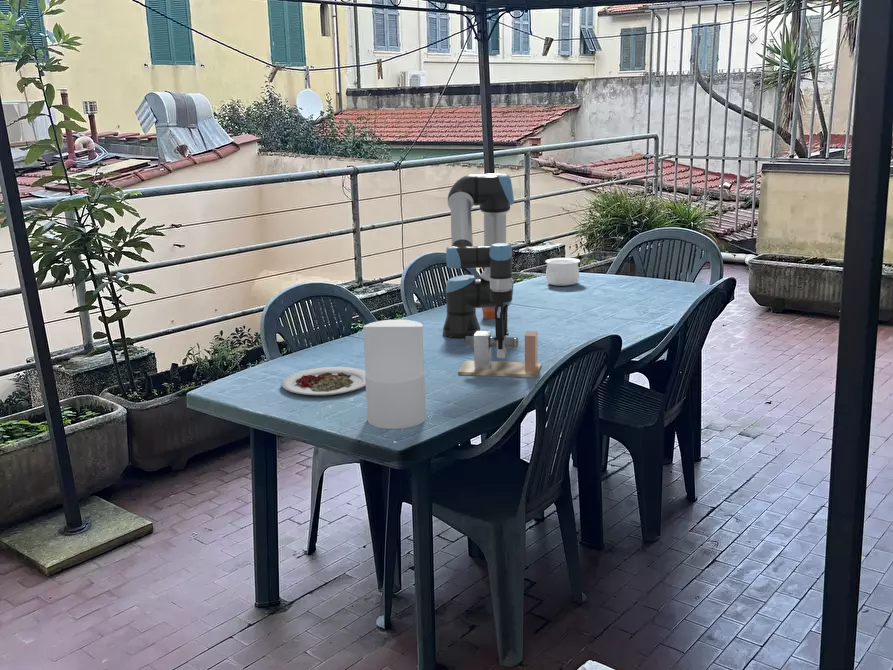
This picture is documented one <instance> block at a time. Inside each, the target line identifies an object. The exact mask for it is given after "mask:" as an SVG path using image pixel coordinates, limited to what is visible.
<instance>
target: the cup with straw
mask: <svg viewBox="0 0 893 670" xmlns="http://www.w3.org/2000/svg"><path fill="white" fill-rule="evenodd" d="M481 311H482V316H483V317H482V318H483V319H488V320H489V319H490V320H492V319H493V320H495V308H481Z"/></svg>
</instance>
